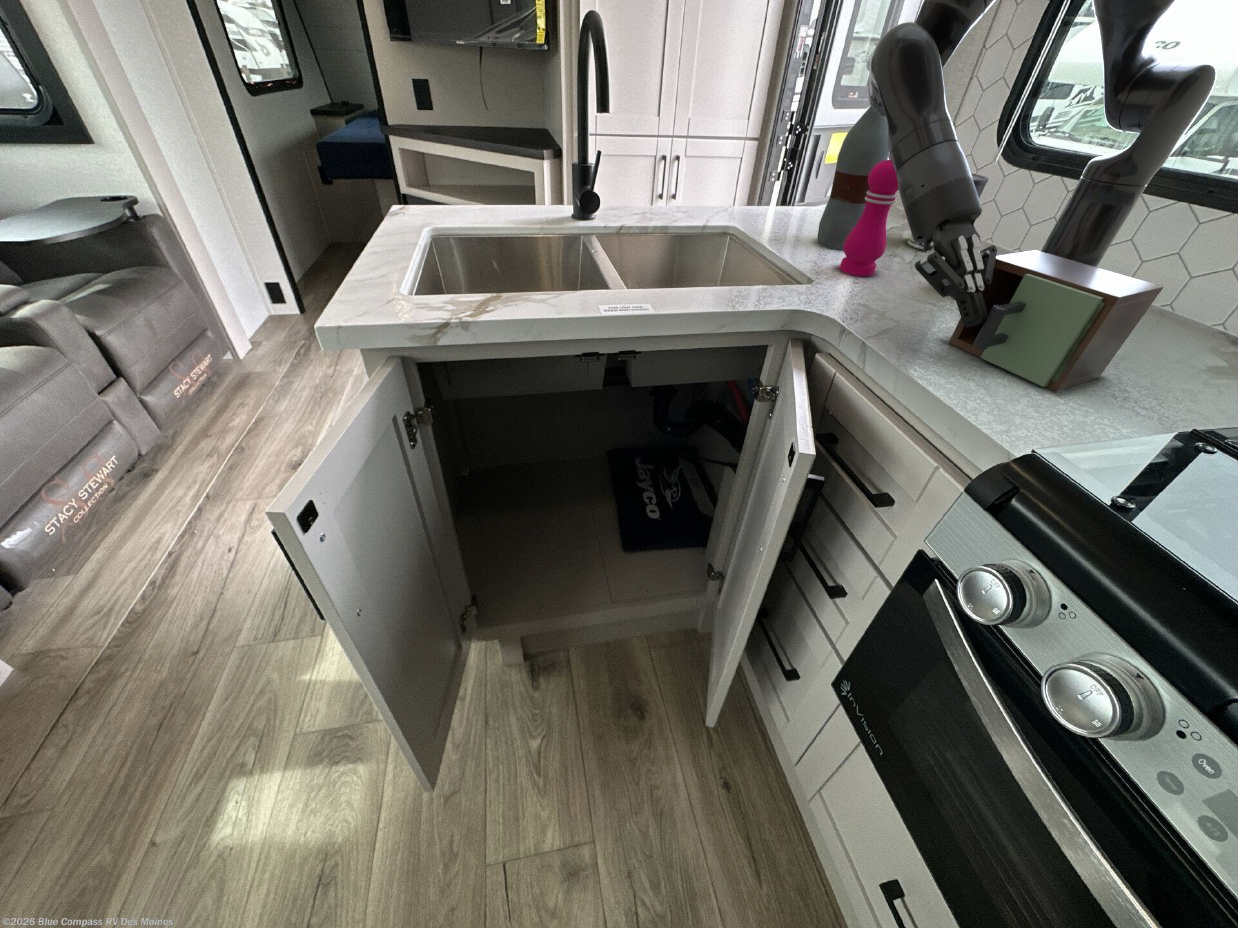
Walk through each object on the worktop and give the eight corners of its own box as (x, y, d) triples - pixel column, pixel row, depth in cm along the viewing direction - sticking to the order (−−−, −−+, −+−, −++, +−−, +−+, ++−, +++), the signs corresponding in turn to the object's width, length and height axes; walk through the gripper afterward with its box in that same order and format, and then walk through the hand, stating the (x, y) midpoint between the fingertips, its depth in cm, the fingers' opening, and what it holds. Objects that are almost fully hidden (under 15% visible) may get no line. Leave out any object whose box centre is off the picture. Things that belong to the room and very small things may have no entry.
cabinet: (1055, 392, 63) (1119, 297, 56) (948, 342, 74) (989, 256, 66) (1099, 377, 67) (1164, 286, 60) (991, 332, 77) (1034, 249, 70)
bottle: (856, 241, 114) (910, 73, 96) (861, 253, 107) (921, 74, 89) (813, 236, 116) (857, 70, 97) (815, 247, 109) (864, 70, 90)
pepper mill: (857, 279, 94) (899, 153, 81) (828, 267, 99) (864, 146, 86) (884, 275, 97) (929, 152, 84) (854, 263, 102) (893, 146, 89)
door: (1017, 395, 62) (1073, 305, 55) (954, 364, 67) (998, 279, 60) (1046, 385, 64) (1104, 297, 57) (983, 356, 70) (1028, 273, 63)
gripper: (929, 175, 59) (973, 319, 58) (1000, 173, 64) (1041, 305, 63) (875, 214, 66) (914, 343, 65) (943, 208, 71) (980, 328, 70)
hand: (977, 324), depth 64 cm, fingers closed
